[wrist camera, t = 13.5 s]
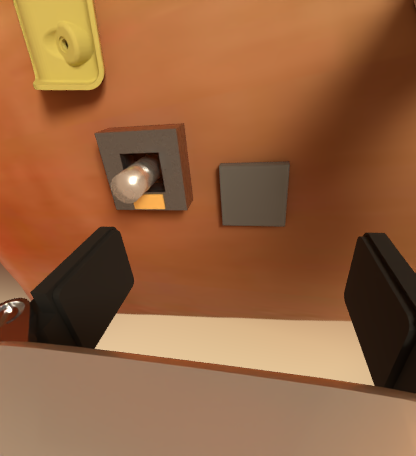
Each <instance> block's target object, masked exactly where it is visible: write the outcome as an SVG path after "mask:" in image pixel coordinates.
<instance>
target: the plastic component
mask: <svg viewBox="0 0 416 456" xmlns="http://www.w3.org/2000/svg"><path fill="white" fill-rule="evenodd" d="M13 2H14V6H15V9H16V12H17V15H18V19H19V22H20V25H21V29H22V32H23V35H24V39H25V42H26V45H27V49H28V52H29V55H30V59H31V62H32V65H33V69H34V73H35V81H34V83H33V86H34V89H36V90H92V89H95V88H96V87H98V86H99V85H100V84H101V82H102V80H103V78H104V74H105V67H104V61H103V55H102V49H101V42H100V36H99V30H98V24H97V18H96V12H95V6H94V0H13ZM66 41H67V44H68V48H67V46H66Z"/></svg>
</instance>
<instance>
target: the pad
mask: <svg viewBox="0 0 416 456" xmlns="http://www.w3.org/2000/svg"><path fill="white" fill-rule="evenodd" d="M289 168H290V164H289V162H254V163H220V166H219V174H220V190H221V206H222V222H223V225H234V226H285V220H286V207H287V194H288V181H289Z"/></svg>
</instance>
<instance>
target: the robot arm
mask: <svg viewBox="0 0 416 456" xmlns="http://www.w3.org/2000/svg"><path fill="white" fill-rule="evenodd" d="M414 4H415V7H416V0H414ZM133 284H134V278H133V274H132V271H131V267H130V264H129V261H128V257H127V254H126V250H125V247H124V244H123V240H122V237H121V234H120V232H119V231H118V230H117V229H116V228H115V227H100V228H98V229H97V230H96V231H95V232H94V233H93V234H92V235H91V236H90V237H89V238H88V239H87V240H85V241H84V242H83V243H82V244H81V245H80V246H79V247H78V248H77V249H76V250H75V251H74V252H73V253H72V254H71V255H70V256H69V257H67V258H66V259H65V260H64V261H63V262H62V263H61V264H60V265H59V266H58V267H57V268H56V269H55V270H54V271H53V272H52V273H50V274H49V275H48V276H47V277H46V278H45V279H44V280H43V281H42V282H41V283H40V284H39V285H38V286H37V287H36V288H35V289H33V290H32V291H31V292H30V293H31V294H32V296H33V298H34V299H33V300H32V301H31V302H29V301H28V300H27V299H25V298H14V299H11V300H7V301H5V302H3V303H0V456H416V273H415V272H414V271H413V270H412V268H411V267H410V266H409V265H408V263H407V262H406V261H405V259H404V258H403V257H402V255H401V254H400V253H399V251H398V250H397V249H396V247H395V246H394V245H393V243H392V242H391V241H390V239H389V238H388V237H387V235H386V234H385V233H365V234H364V235H363V237H358V239H357V243H356V247H355V251H354V255H353V259H352V263H351V267H350V271H349V275H348V280H347V284H346V288H345V292H344V299H345V303H346V306H347V309H348V312H349V315H350V317H351V320H352V323H353V326H354V329H355V332H356V334H357V337H358V340H359V343H360V346H361V348H362V351H363V354H364V357H365V360H366V363H367V365H368V368H369V371H370V374H371V377H372V380H373V382H374V385H375V386H371V385H364V384H358V383H351V382H344V381H337V380H331V379H323V378H317V377H310V376H301V375H294V374H287V373H278V372H272V371H264V370H257V369H249V368H242V367H234V366H226V365H219V364H211V363H203V362H195V361H188V360H180V359H172V358H164V357H156V356H148V355H140V354H132V353H124V352H116V351H107V350H99V349H95V347H96V345H97V344H98V342H99V340H100V339H101V337H102V336H103V334H104V332H105V331H106V329H107V327H108V326H109V324H110V323H111V321H112V319H113V317H114V316H115V314H116V313H117V311H118V310H119V308H120V306H121V305H122V303H123V301H124V300H125V298H126V296H127V295H128V293H129V292H130V290H131V288H132V287H133Z"/></svg>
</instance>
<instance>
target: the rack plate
mask: <svg viewBox="0 0 416 456" xmlns="http://www.w3.org/2000/svg"><path fill="white" fill-rule="evenodd" d="M95 137H96V140H97V144H98V147H99V150H100V154H101V157H102V161H103V164H104V168H105V171H106V175H107V178H108V182H109V185H110V189H111V181H112V179H113V178H114V177H115V176H116V175H118V174H119V173H120V172H122V171H123V170H125V169H126V168H128V167H129V166H130V165H132V164H133V163H135V161H134V157H133V153H154V152H159V158H160V164H161V169H162V175H163V181H164V183H154V184H153V185H152V186H151V187H150V188H149V189H148V190H147V191H146V192H145V193H144V194H143V195H142V196H141V197H140V198H139V199H138V200H137V201H136V202H134V203H124V202H122V201H120V200H118V199H117V198H116V197H115V195H114V194H113V192H112V190H111V192H112V196H113V199H114V203H115V206H116V209H117V210H188V208H189V206H190V204H191V202H192V201H193V195H192V187H191V178H190V170H189V162H188V154H187V145H186V137H185V129H184V123H183V124H167V125H151V126H134V127H118V128H108V129H105V130H102V131H99V132H96V133H95Z"/></svg>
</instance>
